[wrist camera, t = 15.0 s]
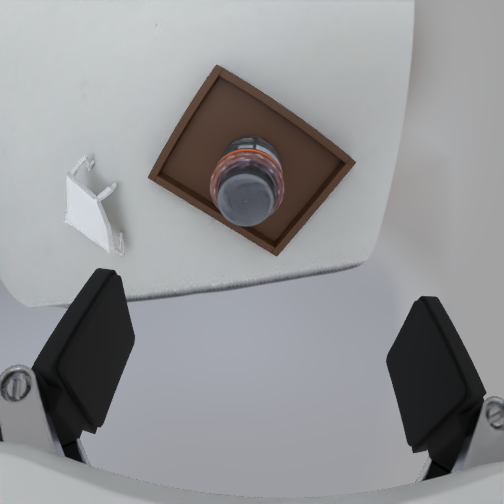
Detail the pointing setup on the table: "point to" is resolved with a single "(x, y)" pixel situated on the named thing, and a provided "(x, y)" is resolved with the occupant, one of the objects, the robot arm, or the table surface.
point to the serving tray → (250, 124)
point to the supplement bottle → (248, 181)
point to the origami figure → (90, 211)
